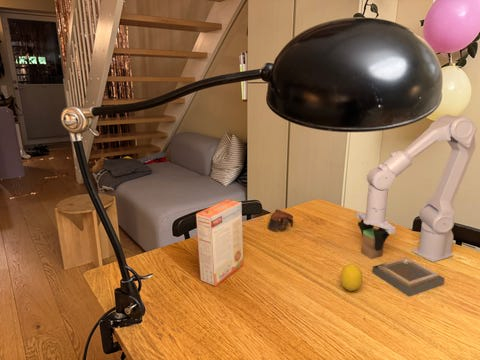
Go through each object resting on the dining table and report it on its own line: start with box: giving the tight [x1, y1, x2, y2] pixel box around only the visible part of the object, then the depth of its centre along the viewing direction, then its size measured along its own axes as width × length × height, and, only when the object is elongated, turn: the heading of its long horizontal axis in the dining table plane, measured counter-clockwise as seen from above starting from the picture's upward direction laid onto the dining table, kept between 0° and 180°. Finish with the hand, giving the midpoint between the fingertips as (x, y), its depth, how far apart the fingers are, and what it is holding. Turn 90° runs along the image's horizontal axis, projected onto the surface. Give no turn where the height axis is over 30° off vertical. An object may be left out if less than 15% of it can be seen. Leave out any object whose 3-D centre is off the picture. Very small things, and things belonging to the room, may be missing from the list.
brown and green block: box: [360, 227, 384, 260], centre depth 111 cm, size 4×4×8 cm
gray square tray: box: [371, 256, 445, 297], centre depth 97 cm, size 13×13×3 cm
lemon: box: [339, 263, 363, 292], centre depth 91 cm, size 6×6×8 cm
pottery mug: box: [267, 209, 294, 233], centre depth 132 cm, size 12×10×8 cm
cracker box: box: [195, 198, 244, 287], centre depth 99 cm, size 14×6×21 cm, turn 145°
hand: (372, 246), depth 111 cm, fingers closed on brown and green block, 4 cm apart
